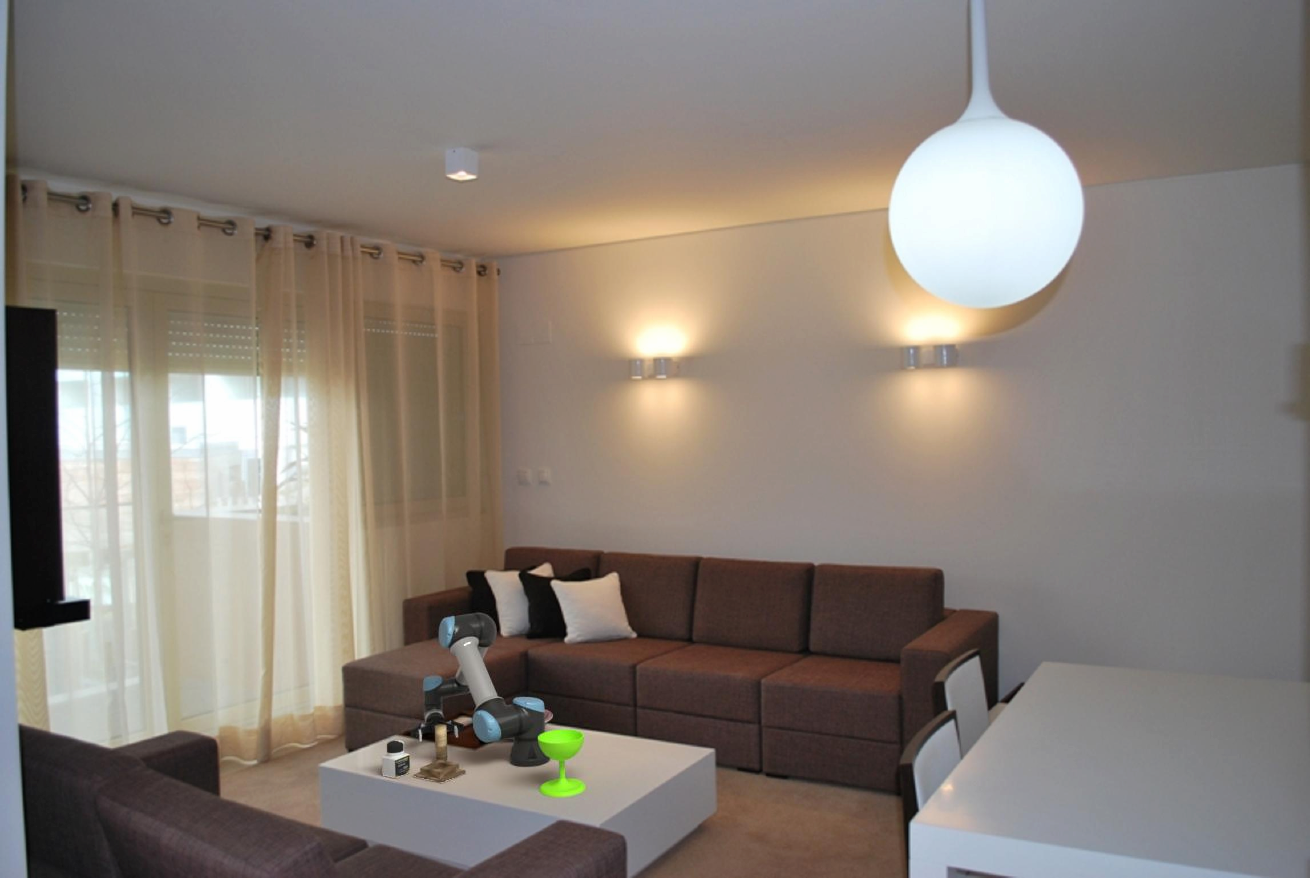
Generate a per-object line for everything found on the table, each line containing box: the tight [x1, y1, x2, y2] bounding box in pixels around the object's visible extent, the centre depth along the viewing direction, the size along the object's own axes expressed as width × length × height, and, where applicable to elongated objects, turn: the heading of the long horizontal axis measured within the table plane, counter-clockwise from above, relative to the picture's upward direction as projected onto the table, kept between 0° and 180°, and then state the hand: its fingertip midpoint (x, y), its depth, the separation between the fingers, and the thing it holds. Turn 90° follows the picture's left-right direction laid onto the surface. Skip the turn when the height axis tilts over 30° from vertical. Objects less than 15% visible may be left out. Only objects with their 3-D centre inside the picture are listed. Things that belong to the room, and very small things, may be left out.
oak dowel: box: [434, 724, 448, 762], centre depth 362 cm, size 4×4×14 cm
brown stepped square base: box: [413, 760, 467, 783], centre depth 349 cm, size 14×12×3 cm
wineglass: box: [538, 728, 587, 798], centre depth 332 cm, size 16×16×18 cm
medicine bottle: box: [381, 739, 411, 779], centre depth 351 cm, size 7×7×12 cm
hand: (438, 736), depth 370 cm, fingers open, 13 cm apart
